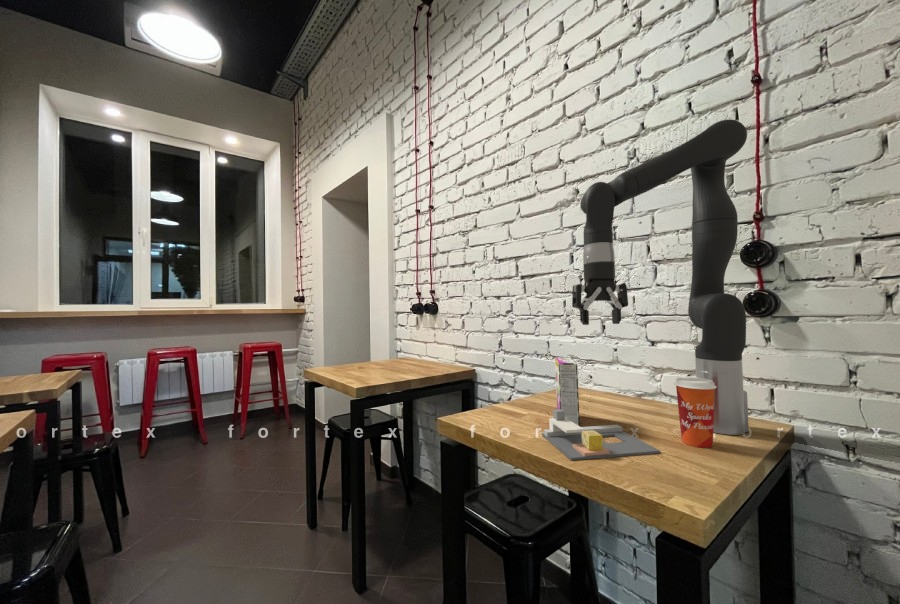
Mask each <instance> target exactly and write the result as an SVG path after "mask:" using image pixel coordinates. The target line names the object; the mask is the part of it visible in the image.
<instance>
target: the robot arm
mask: <svg viewBox="0 0 900 604" xmlns="http://www.w3.org/2000/svg"><path fill="white" fill-rule="evenodd" d="M747 138H748V131H747V128H746V126H745V125H744V124H743V123H742V122H740V121H739V120H736V119H723V120H720V121H716V122H715V123H712V125H710V126H709V127H707V128H706V129H705V130H703V131H701V132H700V133H698V134H697V135H695V136H693V137H692V138H690V139H689V140H687V141H686V142H684V143H682V144H680V145H678V146H676V147H674V148H673V149H670V150H669V151H667V152H664V153H663V154H660V155H658V156H657V157H654V158H652V159H650V160H647V161H646V162H643V163H640V164H639V165H636V166H634V167H632V168H629V169H627V170H625V171H624V172H622V173H620V174H618V175H617V176H616V177H615V178H614V179H612V180H611V181H609V182H604V181H597V182H594V183H593V184H591V185H590V186H589V187H588V188H587V189H586V191H585V193H584V194H583V195H582V197H581V198H580V200H581V201H580V209H581V211H582V212H583V213H584V214H585V219H586V220H585V225H584V226H583V252H582V254H583V255H582V261H583V280H584V284H580V283H578V284H573V285H572V297H571V300H572V302H571V306H572V308H574V309H575V308H576V309H577V310H579V320H580V323H581V324H582V325H584V326H589V325H590V320H589V319H590V317H589V316H590V313H589V311H590V310H589V309H588V308H589V307H590V306H591V305H592V304H593V303H594V302H599V301H600V302H606V303H607V304H609V305H610V307H611V308H612V310H611V323H612V324H613V325H619V324H620V323H621V321H622V309H623V308H625V307H628V306H629V298H628V297H629V295H628V286H627V284H626V283H620V284H616V282H615V279H616V268H615V267H616V264H615V262H616V261H615V258H616V257H615V250H614V249H615V248H614V241H613V240H614V236H613V235H614V234H613V233H614V232H613V220H614V213H615V207H617V206H619V205H621V204H623V203H624V202H626V201H628V200H631V199H634V198H635V197H638V196H640V195H642V194H644V193H645V194H646V193H647V192H649V191H651V190H653V189H655V188H657V187H659V186H661V185H662V184H664V183H666V182H668V181H669V180H671V179H673V178H676V177H677V176H679V175H680V174H682V173H684V172H685V171H687V170H690V173H691V174H690V175H691V182H692V216H691V217H692V219H691V221H692V222H691V245H692V246H691V248H692V249H691V270H692V271H691V272H692V273H691V276H692V277H691V285H690V293H689V299H688V308H687V309H688V311H687V314H688V317H689V320H690V322H691V323H692V324H693V325H694V326H695V327H696V328H698V329H701V330H702V331H701V332H702V333H701V341H700V342H699V344H697V345H696V346H695V350H694V355H695V357H694V359H695V360H694V361H695V377H698V378H705V379H710V380H712V381H713V382H714V383H715V384H714V385H715V386H717V388H715V393H714V428H713V433H715V434H721V435H730V436H733V435H734V436H738V435H744V434H745V433H746V432H749V431H750V430H749V428H750V427H749V403H748V402H749V401H748V392H747V391H746V390H744V375H743V374H744V373H743V352H744V350H745V348H746V343H747V342H746V341H747V314H746V309H745V306H744V304H743V302H742V301H741V299H740V298H739V297H737V296H735V295H734V294H731V293H727V292H726V293H725V275H726V271H727V267H728V265H729V263H730V260H731V258H732V256H733V254H734V250H735V248H736V244H737V241H738V227H739V226H738V223H739V222H738V212H737V208H736V206H735V204H734V202H733V200H732V199H731V197H730V195H729V193H728V191H727V189H726V185H725V177H726V176H725V171H726V164H727V160H729V159H731V158H732V157H734V156H735V155H736V154H737V153H739V151H740V150H741V149H743V147H744V145H745V144H746V141H747ZM583 292H585V296H584V297H583V299H582V294H583ZM615 292H616V293H617V295H615Z"/></svg>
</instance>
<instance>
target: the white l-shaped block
mask: <svg viewBox="0 0 900 604" xmlns="http://www.w3.org/2000/svg"><path fill="white" fill-rule="evenodd" d="M548 421H549V424H548V426H549V429H550V430H551V431H553V432H558V431H564V432H566V433H575V432H582V431H584V429H583V428H581V427H582V426H578V425H577V424H575V423H573V422H572V421H570V420H569V419H567V418H565V411H563V410H561V409H557V408H554V409H553V410H552V417H549V419H548Z"/></svg>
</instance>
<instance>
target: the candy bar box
mask: <svg viewBox="0 0 900 604" xmlns="http://www.w3.org/2000/svg"><path fill="white" fill-rule="evenodd" d="M554 369H555V392H556V393H555V394H556V409H561V410H563V411H565V418H567V419H569V420H570V421H572V422H573V423H575V424H577V425H578V426H580V425H581V424H580V422H581V421H580V404H579V403H580V402H579V401H580V400H579V398H580V397H579V379H578V377H579V376H578V375H579V374H578V373H579V372H578V363H577V362H576V361H575V360H574V359H573V358H572V357H563V356H561V357H555V358H554ZM580 427H581V426H580Z"/></svg>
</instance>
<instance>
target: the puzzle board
mask: <svg viewBox="0 0 900 604" xmlns="http://www.w3.org/2000/svg"><path fill="white" fill-rule="evenodd" d="M580 427H581V428H583V429H584V431H590V430H594V431H596V432H597V433H599V434H600V435H602V438H607V437H609V438H610V437H614V438H617V439H618V440H620V441H619V442H605V441H604V440H602V450H589V449H587V448H586V447H585V446H583V445H582V432H575V433H566V432H564V431H558V432H553V431H551V430H550V428H549V429H543V432H541V436H542V437H543V438H544V439H545V440H547V441H548V442H549V443H550V444H551V445H552V446H554V447H555V448H556V449H557V450H559V452H561V453H562V454H563V455H564V456H566V457H567V458H568V460H570V461H579V460H592V459H602V458H603V459H604V458H605V459H606V458H617V457H629V456H639V455H640V456H641V455H651V454H652V455H654V454H660V453H661V450H659V449H657V448H656V447H654V446H652V445H650V444H648V443H646V442H644V441H643V440H641V439H639V438H637V437H636V436H634V435H631V434H630V433H628V432H626V431H624V430H623V426H621V425H620V424H609V425H607V424H606V425H594V426H593V425H592V426H591V425H590V426H580Z"/></svg>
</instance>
